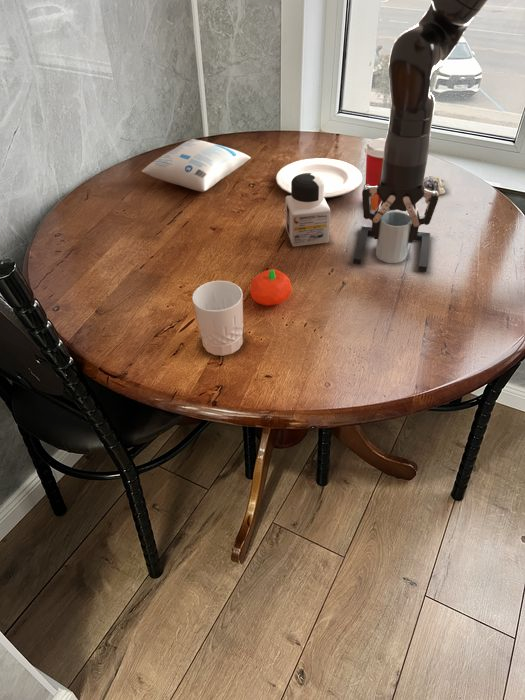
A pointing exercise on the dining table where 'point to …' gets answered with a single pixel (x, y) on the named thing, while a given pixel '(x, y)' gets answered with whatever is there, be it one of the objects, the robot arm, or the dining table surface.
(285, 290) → the pumpkin
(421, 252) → the frame
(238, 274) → the dining table surface
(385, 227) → the pale grey cup
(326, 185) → the plate
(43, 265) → the dining table surface
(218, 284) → the white cup
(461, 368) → the dining table surface
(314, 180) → the container
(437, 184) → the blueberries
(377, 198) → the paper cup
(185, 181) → the pouch
